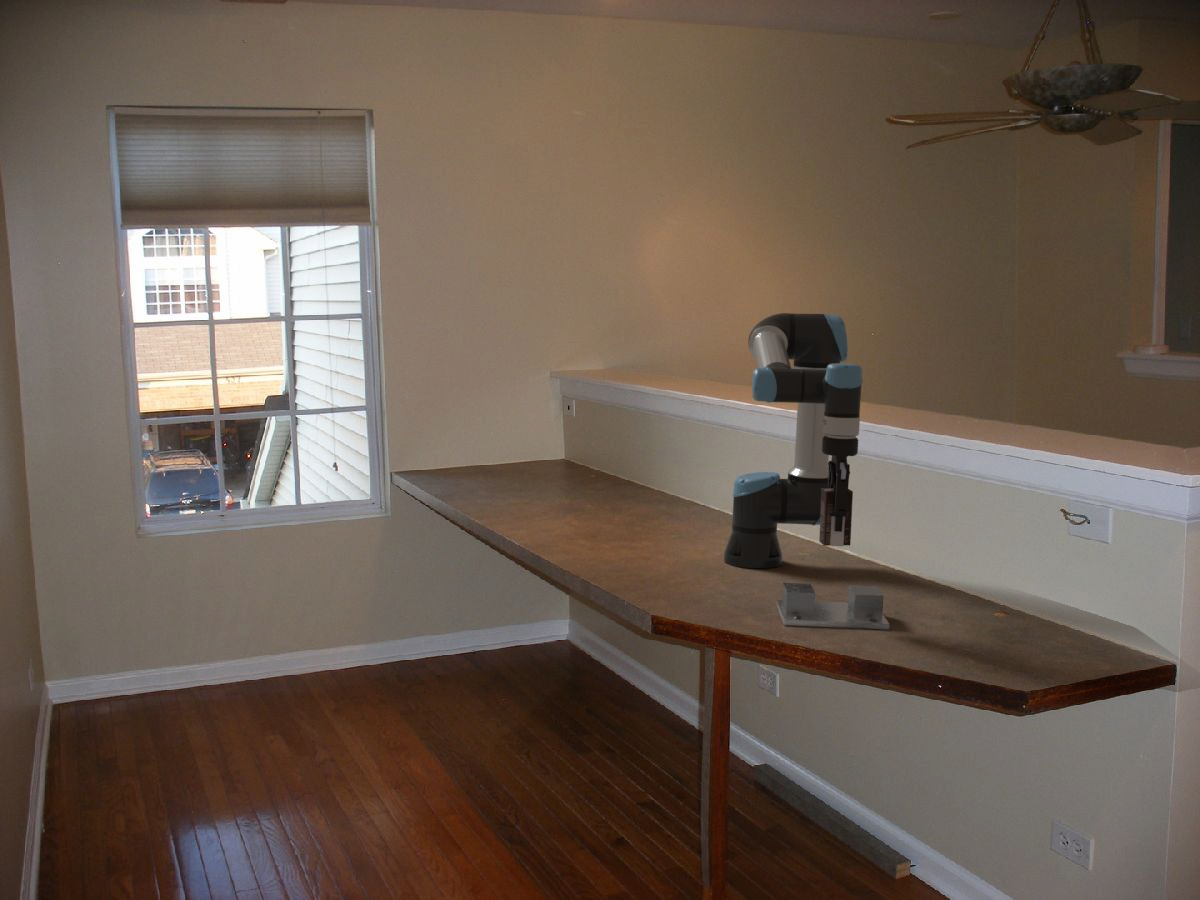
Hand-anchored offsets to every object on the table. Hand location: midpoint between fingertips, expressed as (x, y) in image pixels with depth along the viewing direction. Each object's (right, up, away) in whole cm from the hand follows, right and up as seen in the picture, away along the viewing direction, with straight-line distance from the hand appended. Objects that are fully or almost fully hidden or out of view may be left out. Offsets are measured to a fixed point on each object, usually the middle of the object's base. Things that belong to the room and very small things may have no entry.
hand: (834, 542), depth 249 cm
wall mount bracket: (0, -16, +2) cm, 17 cm away
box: (0, 0, 0) cm, 1 cm away
